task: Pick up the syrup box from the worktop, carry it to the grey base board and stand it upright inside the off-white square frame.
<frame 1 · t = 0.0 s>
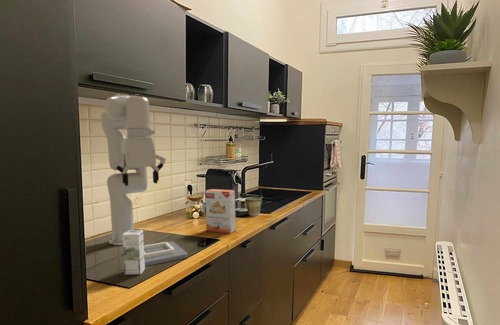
hand: (141, 184, 117), 31 cm above the countertop, tool pointing down, fingers open, 9 cm apart
ceramic cup: (254, 214, 210), on the countertop
syrup box: (134, 272, 120), on the countertop
base board: (156, 255, 137), on the countertop
cracker box: (221, 231, 171), on the countertop
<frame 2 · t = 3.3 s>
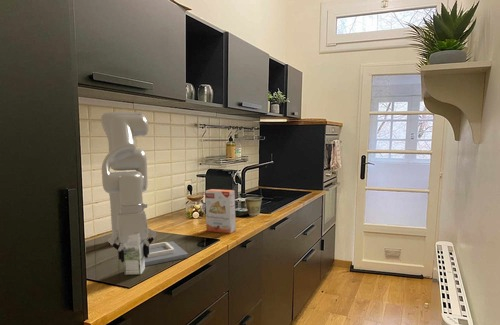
hand: (134, 258, 120), 5 cm above the countertop, tool pointing down, fingers closed on syrup box, 7 cm apart
syrup box: (135, 272, 120), on the countertop, touching gripper
everything else where it was.
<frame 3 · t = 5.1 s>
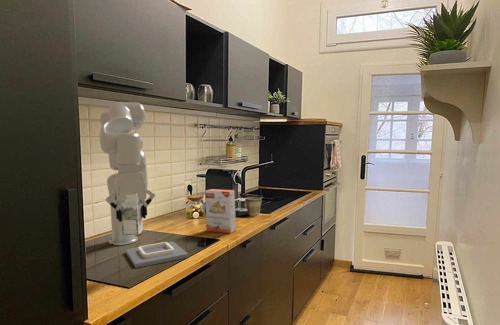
hand: (132, 218, 119), 19 cm above the countertop, tool pointing down, fingers closed on syrup box, 7 cm apart
syrup box: (132, 233, 120), point 14 cm above the countertop, touching gripper
everything else where it was.
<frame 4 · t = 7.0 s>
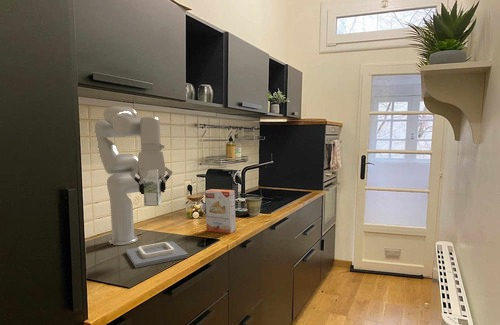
hand: (152, 192, 136), 25 cm above the countertop, tool pointing down, fingers closed on syrup box, 7 cm apart
syrup box: (153, 205, 136), point 20 cm above the countertop, touching gripper
everything else where it was.
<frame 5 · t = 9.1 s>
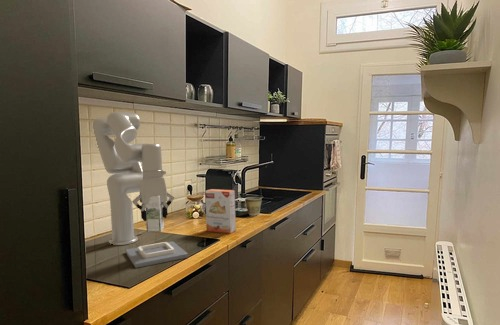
hand: (154, 218, 136), 15 cm above the countertop, tool pointing down, fingers closed on syrup box, 7 cm apart
syrup box: (155, 231, 137), point 10 cm above the countertop, touching gripper
everything else where it was.
when the fingers open (8 cm above the countertop, at t = 11.1 s): syrup box drops 1 cm, resting on base board.
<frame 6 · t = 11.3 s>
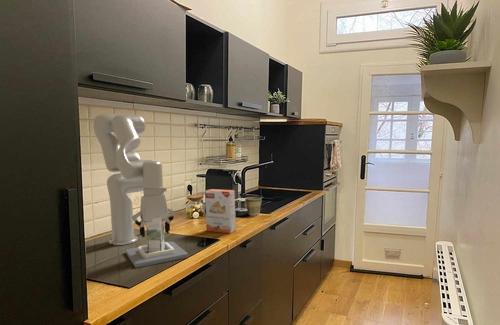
hand: (155, 234, 137), 8 cm above the countertop, tool pointing down, fingers open, 9 cm apart
syrup box: (156, 251, 138), point 1 cm above the countertop, touching base board
everything else where it was.
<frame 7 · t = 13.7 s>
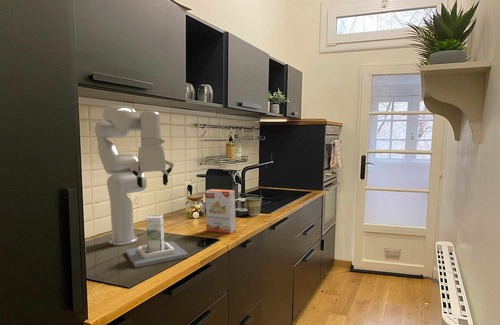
hand: (152, 185, 136), 28 cm above the countertop, tool pointing down, fingers open, 9 cm apart
nothing on the countertop moved.
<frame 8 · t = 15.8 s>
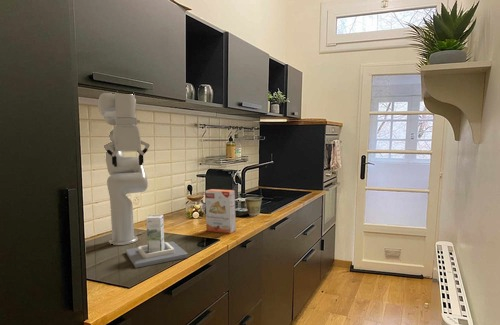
hand: (128, 165, 136), 36 cm above the countertop, tool pointing down, fingers open, 9 cm apart
nothing on the countertop moved.
at the end: syrup box 0.4 cm off-centre on the base board, point 1.3 cm above the base board's base; syrup box tilted 0°; the gripper is holding nothing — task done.
